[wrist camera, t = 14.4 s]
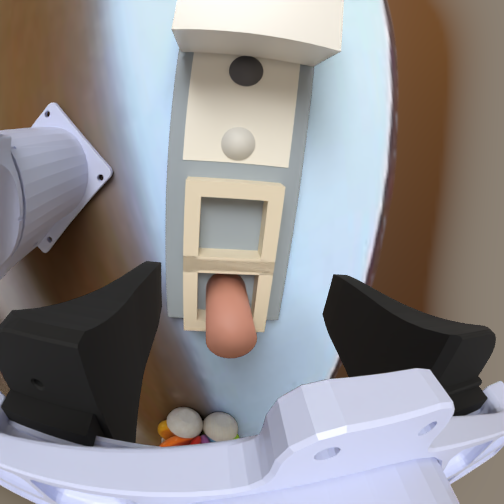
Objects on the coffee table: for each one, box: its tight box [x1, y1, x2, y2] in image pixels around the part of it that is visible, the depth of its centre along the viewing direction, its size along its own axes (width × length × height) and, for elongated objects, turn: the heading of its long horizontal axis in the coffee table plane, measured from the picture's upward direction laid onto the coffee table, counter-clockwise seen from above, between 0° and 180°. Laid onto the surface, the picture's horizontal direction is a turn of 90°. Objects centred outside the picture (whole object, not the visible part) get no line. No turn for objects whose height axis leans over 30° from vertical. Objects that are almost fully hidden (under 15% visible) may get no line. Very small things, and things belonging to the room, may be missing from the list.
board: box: [166, 49, 314, 332], centre depth 18 cm, size 28×9×3 cm, turn 174°
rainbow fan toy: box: [158, 407, 239, 447], centre depth 27 cm, size 8×10×7 cm
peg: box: [206, 273, 257, 358], centre depth 19 cm, size 3×3×6 cm
